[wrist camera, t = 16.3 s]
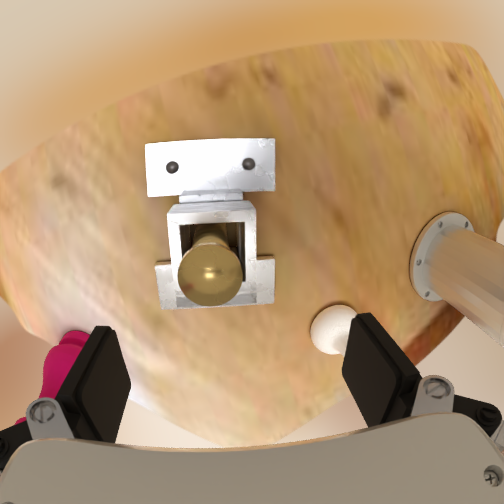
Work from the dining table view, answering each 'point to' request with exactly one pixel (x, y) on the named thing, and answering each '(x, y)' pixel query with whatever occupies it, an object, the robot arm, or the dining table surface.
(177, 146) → the fixed leaf
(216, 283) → the hinge pin
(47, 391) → the pepper mill
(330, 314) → the garlic bulb
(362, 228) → the dining table surface
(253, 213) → the square tube bracket
